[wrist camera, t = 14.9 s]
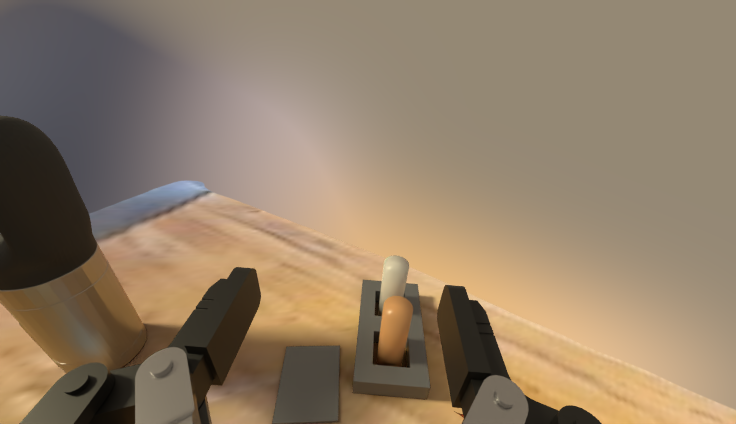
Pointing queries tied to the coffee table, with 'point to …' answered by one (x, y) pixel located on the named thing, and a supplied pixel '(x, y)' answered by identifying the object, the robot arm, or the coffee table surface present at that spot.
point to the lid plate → (308, 386)
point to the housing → (378, 376)
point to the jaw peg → (394, 331)
